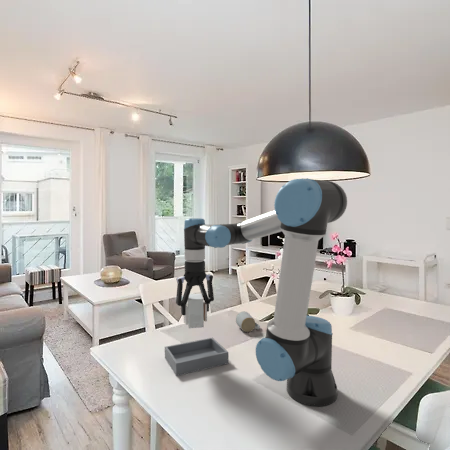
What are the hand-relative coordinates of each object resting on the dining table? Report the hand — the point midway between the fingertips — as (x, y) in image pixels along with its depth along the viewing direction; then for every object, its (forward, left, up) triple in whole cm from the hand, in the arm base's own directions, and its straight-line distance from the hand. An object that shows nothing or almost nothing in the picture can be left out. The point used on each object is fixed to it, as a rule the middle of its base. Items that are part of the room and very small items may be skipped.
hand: (195, 321), depth 121 cm
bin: (0, 0, -15) cm, 15 cm away
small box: (0, 0, -1) cm, 1 cm away
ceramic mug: (+19, -33, -15) cm, 41 cm away
